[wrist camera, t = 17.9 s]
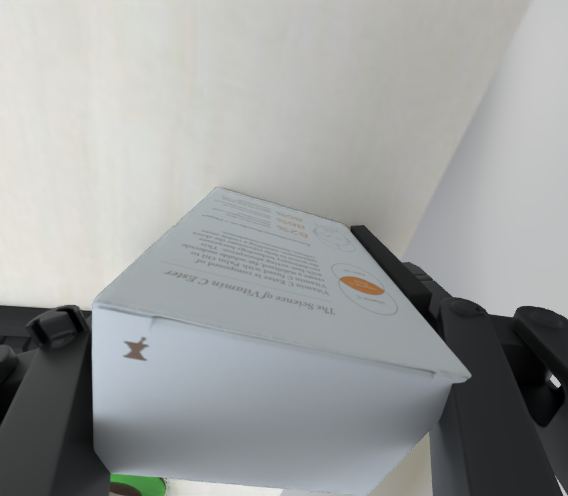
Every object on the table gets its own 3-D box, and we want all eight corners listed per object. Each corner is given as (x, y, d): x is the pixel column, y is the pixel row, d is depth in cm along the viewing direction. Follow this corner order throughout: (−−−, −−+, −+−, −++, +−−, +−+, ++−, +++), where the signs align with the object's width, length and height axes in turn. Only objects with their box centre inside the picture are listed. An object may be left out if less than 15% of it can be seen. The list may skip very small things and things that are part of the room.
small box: (199, 267, 15) (80, 476, 6) (216, 182, 13) (69, 300, 4) (315, 295, 17) (369, 505, 7) (347, 222, 15) (487, 386, 5)
